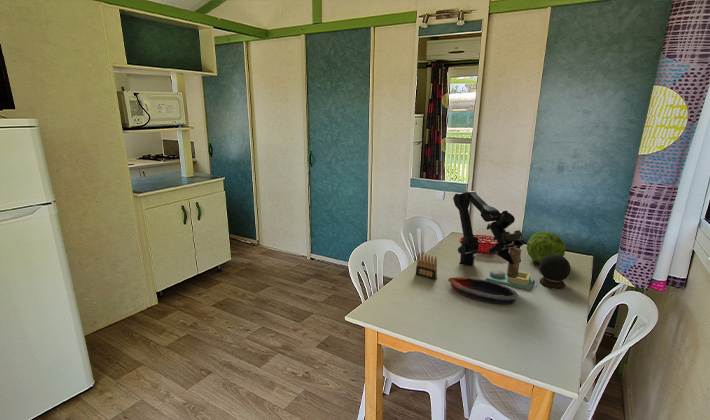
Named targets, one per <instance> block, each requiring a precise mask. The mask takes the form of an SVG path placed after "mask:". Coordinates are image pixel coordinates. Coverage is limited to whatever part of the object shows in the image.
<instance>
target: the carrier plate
mask: <svg viewBox="0 0 710 420" xmlns="http://www.w3.org/2000/svg"><path fill="white" fill-rule="evenodd" d="M485 280H487V281H491V282H495V283H498V284H501V285H505V286H511V287H515V288H519V289H523V290H527V291H531V289H532V287H533V283H534V281H535V278H533V277H531V273H528V272H525V271H521V270H518V277H517V278H511V277H508V276H507V272H504V271H503V270H500V269H499V270H498V269H491V270H490V272H489V273H488V274H487V276H486V278H485Z"/></svg>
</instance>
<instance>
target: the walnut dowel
mask: <svg viewBox="0 0 710 420" xmlns="http://www.w3.org/2000/svg"><path fill="white" fill-rule="evenodd" d="M509 251H510V252H509V254H510V256H511V258H512V260H513V262H514V264H510V263H509V262H507V264H508V265H507V270H506V271H507V272H506V273H507V276H508V277H511V278H517V277H518V271H520V270H519V269H520V263H521V262H520V258H521V255H522V253H521V252H522V249H521V248H520V249H519V248H510V250H509Z"/></svg>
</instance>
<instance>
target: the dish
mask: <svg viewBox="0 0 710 420" xmlns="http://www.w3.org/2000/svg"><path fill="white" fill-rule="evenodd" d="M447 281H448V283H450V287H452V289H453V290H455V291H456V292H458V293H459V294H461V295H464V296H467V297H469V298H471V299H476V300H479V301H482V302H488V303H494V304H506V305H507V304H512V303H515V301H517V299H519V293H517V292H516V290H514V289H512V288H510V287H508V286H507V285H505V284H502V283H497V282H493V281H489V280H486V279H482V278H476V277H469V276H467V277H466V276H464V277H463V276H459V277H458V276H457V277H449V278H448V280H447Z"/></svg>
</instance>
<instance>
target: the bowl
mask: <svg viewBox="0 0 710 420" xmlns="http://www.w3.org/2000/svg"><path fill="white" fill-rule="evenodd" d="M473 235H474V236H475V237H477V238H478V242H479V249H478V251H477V253H480V254H488V255H491V254H490V252H489V249H490V248H491V247H493V246H494V245H495V244H498V242H497V240H494V238H495V237H494V235H493V236H492V235H485V234H473ZM462 239H463V236H461V238H460V239H459V244H461V245H462ZM461 245H460V246H461ZM509 251H510V248H509ZM497 253H498V251H496V253H495V254H497Z"/></svg>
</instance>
